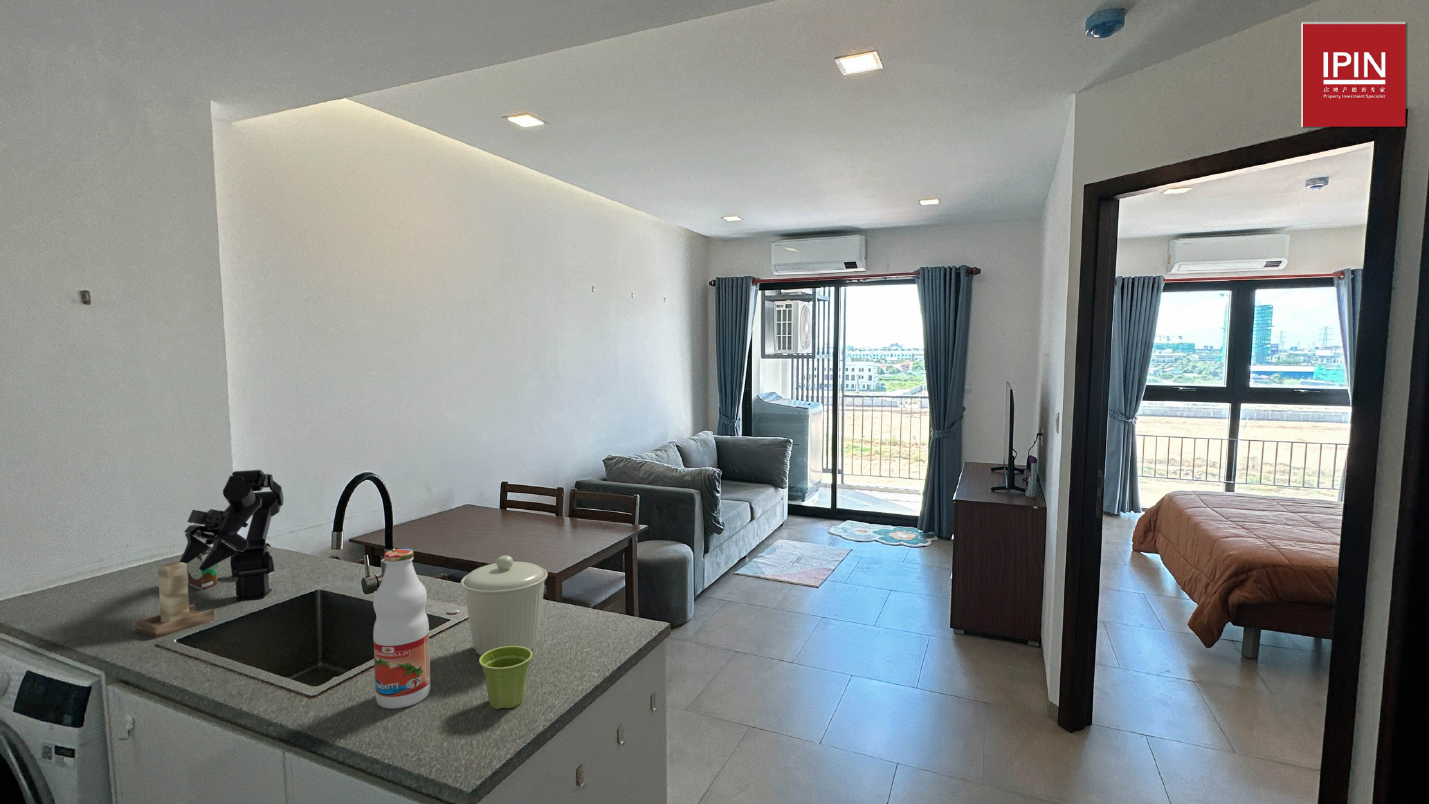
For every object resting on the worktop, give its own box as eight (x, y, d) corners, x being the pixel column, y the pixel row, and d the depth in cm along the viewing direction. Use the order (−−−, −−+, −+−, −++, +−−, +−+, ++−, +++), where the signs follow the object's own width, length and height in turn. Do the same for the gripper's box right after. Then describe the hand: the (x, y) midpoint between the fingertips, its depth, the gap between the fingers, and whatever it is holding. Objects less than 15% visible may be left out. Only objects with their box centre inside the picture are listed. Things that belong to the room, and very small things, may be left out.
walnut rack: (193, 613, 165) (192, 604, 165) (214, 619, 161) (213, 609, 161) (135, 631, 154) (134, 621, 154) (156, 638, 150) (155, 627, 150)
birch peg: (180, 617, 160) (177, 561, 159) (189, 619, 159) (186, 563, 158) (161, 623, 157) (157, 566, 156) (170, 625, 155) (167, 568, 154)
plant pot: (511, 684, 128) (510, 641, 128) (543, 698, 123) (542, 653, 122) (469, 704, 121) (468, 659, 120) (502, 720, 115) (501, 672, 115)
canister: (461, 640, 148) (458, 550, 147) (542, 627, 155) (540, 541, 154) (464, 675, 132) (461, 573, 130) (555, 659, 139) (553, 562, 138)
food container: (229, 584, 187) (228, 550, 186) (204, 591, 182) (202, 555, 181) (211, 577, 193) (209, 544, 193) (186, 583, 188) (184, 549, 188)
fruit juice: (440, 686, 127) (436, 546, 126) (410, 712, 118) (405, 560, 116) (397, 683, 129) (392, 543, 127) (364, 707, 120) (358, 558, 118)
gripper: (191, 493, 168) (141, 546, 159) (232, 499, 160) (182, 555, 151) (226, 517, 176) (180, 568, 167) (267, 524, 168) (222, 578, 158)
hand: (190, 567), depth 160 cm, fingers open, 9 cm apart
